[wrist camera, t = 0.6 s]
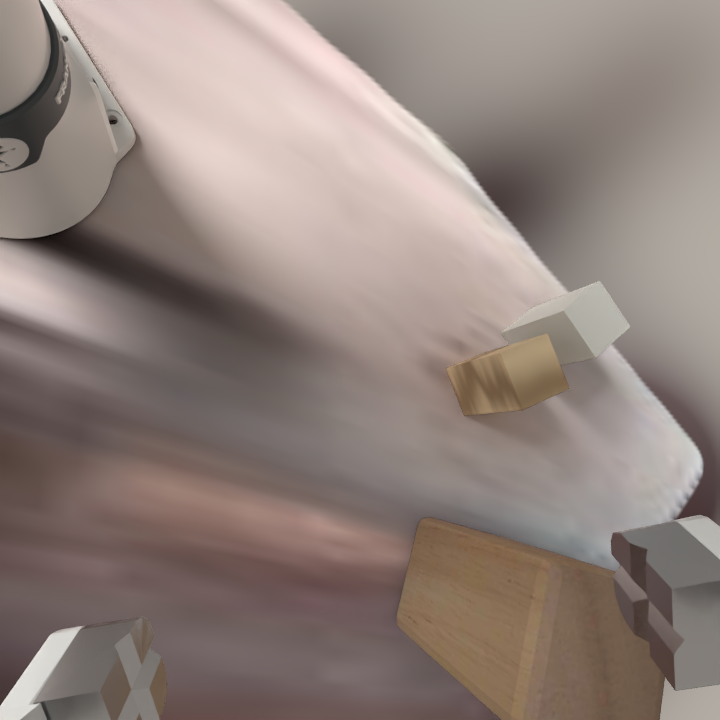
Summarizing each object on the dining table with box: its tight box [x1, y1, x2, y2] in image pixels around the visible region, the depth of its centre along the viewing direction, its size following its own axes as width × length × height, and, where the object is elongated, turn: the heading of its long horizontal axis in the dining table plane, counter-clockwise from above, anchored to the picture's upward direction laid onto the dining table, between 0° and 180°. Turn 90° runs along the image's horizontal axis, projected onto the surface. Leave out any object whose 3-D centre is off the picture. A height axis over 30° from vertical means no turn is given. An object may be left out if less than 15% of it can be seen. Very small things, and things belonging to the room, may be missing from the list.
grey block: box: [501, 281, 630, 365], centre depth 52 cm, size 5×5×10 cm
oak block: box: [446, 333, 569, 416], centre depth 50 cm, size 5×5×10 cm
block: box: [397, 517, 665, 720], centre depth 41 cm, size 10×10×20 cm
